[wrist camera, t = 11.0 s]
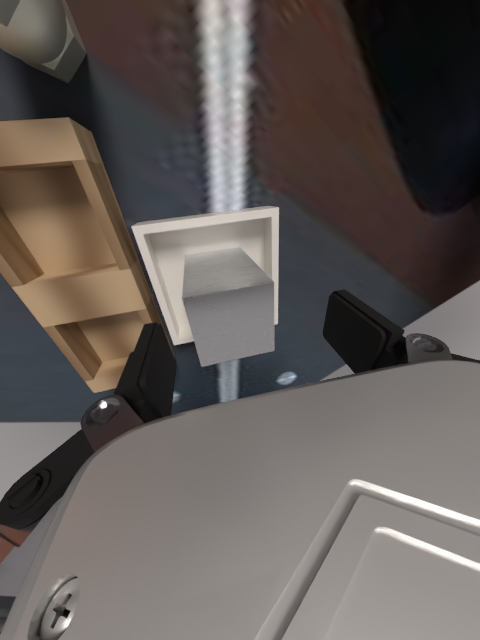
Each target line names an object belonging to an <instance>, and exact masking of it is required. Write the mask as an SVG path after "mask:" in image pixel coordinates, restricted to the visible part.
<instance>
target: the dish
mask: <svg viewBox="0 0 480 640" xmlns="http://www.w3.org/2000/svg"><path fill="white" fill-rule="evenodd" d="M131 227H132V230H133V233H134V236H135V238H136V241H137V244H138V247H139V249H140V252H141V255H142V258H143V261H144V263H145V266H146V269H147V272H148V274H149V277H150V280H151V283H152V286H153V288H154V291H155V294H156V297H157V299H158V302H159V305H160V308H161V311H162V313H163V316H164V319H165V322H166V324H167V327H168V330H169V333H170V336H171V338H172V341H173V344H174V345H178V344H183V343H188V342H193V341H194V339H193V335H192V332H191V328H190V325H189V321H188V318H187V314H186V311H185V307H184V304H183V300H182V293H183V278H184V263H185V255H190V254H196V253H203V252H209V251H216V250H222V249H229V248H236V247H240V248H241V249H242V250H243V251H244V252H245V253H246V254H247V255H248V256H249V257H250V258H251V259H252V260H253V261H254V262H255V263H256V264H257V265H258V266H259V267H260V268H261V269H262V270H263V271H264V272H265V273H266V274H267V275H268V276H269V277H270V278H271V279H272V280H273V281H274V325H275V324H278V250H279V207H273V206H263V207H255V208H248V209H240V210H232V211H224V212H216V213H209V214H201V215H193V216H185V217H177V218H169V219H162V220H154V221H146V222H139V223H137V224H135V225H133V226H131Z"/></svg>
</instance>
